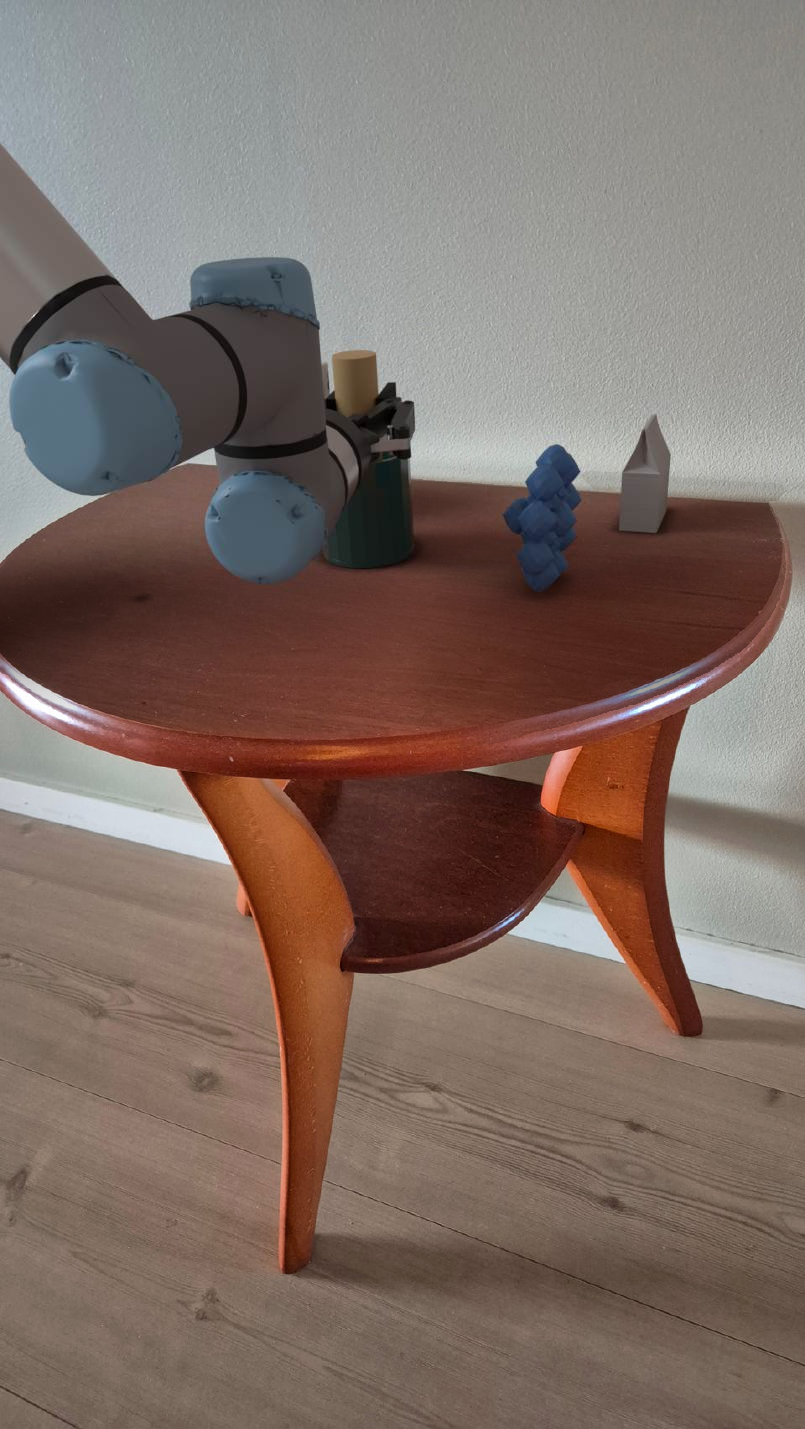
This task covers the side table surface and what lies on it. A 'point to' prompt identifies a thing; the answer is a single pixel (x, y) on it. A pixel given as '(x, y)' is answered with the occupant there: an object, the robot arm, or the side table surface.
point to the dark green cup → (375, 519)
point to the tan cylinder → (355, 382)
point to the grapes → (546, 517)
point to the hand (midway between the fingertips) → (368, 397)
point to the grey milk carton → (645, 482)
